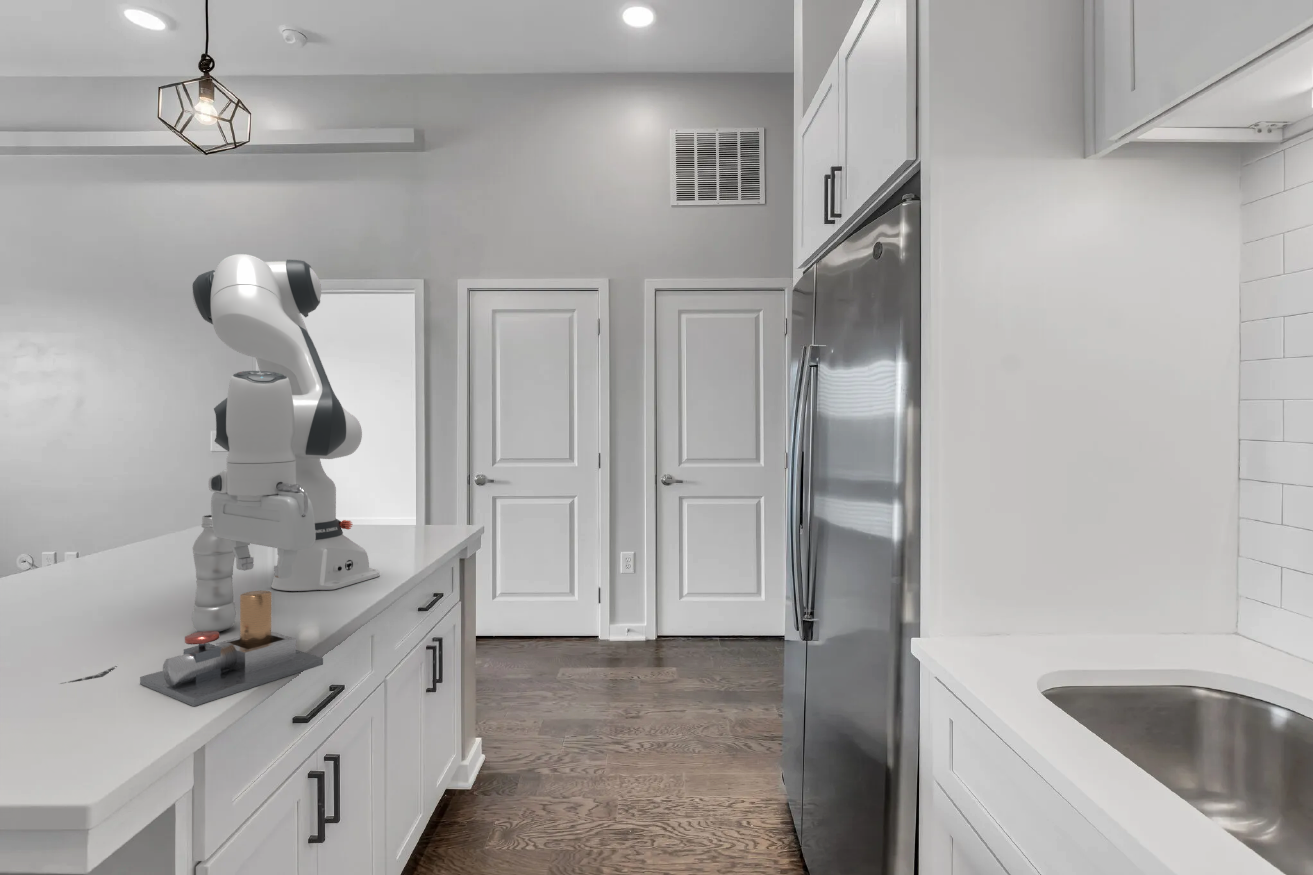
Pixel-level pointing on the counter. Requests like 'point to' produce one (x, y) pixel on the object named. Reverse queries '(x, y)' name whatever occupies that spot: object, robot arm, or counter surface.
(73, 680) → the dark thin curved piece
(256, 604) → the pipe stub
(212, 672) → the valve fitting
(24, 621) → the counter surface
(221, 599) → the plastic bottle
